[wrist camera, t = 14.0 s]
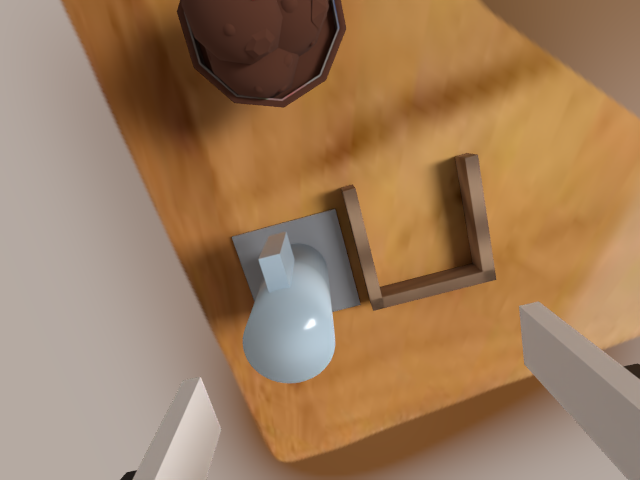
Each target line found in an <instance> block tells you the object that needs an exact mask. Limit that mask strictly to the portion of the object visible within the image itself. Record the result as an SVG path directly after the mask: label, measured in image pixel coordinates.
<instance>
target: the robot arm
mask: <svg viewBox="0 0 640 480" xmlns="http://www.w3.org/2000/svg"><path fill="white" fill-rule="evenodd" d="M519 310H520V321H521V332H522V343H523V354H524V364H525V365H526V367H527V368H528V369H529V370H530V371H531V372H532V373H533V374H534V375H535V377H536V378H537V379H538V380H539V381H540V382H541V383H542V384H543V385H544V387H545V388H546V389H547V390H548V391H549V392H550V393H551V394H552V395H553V397H554V398H555V399H556V400H557V401H558V402H559V403H560V404H561V406H562V407H563V408H564V409H565V410H566V411H567V412H568V413H569V414H570V416H571V417H572V418H573V419H574V420H575V421H576V422H577V423H578V424H579V426H580V427H581V428H582V429H583V430H584V431H585V432H586V433H587V434H588V435H589V437H590V438H591V439H592V440H593V441H594V442H595V443H596V444H597V446H598V447H599V448H600V449H601V450H602V451H603V452H604V453H605V455H607V457H608V458H609V459H610V460H611V461H612V462H613V463H614V464H615V466H616V467H617V468H618V469H619V470H620V471H621V472H622V473H623V475H624V476H625V477H626V478H627V479H628V480H640V365H639V364H633V365H628V366H624V367H623V366H622V365H620V364H619V363H618V362H616V361H615V360H613V358H611V357H610V356H609V355H607V354H606V353H605V352H603V351H602V350H601V349H600V348H598V347H597V346H596V345H594V344H593V343H592V342H590V341H589V340H588V339H587V338H585V337H584V336H583V335H581V334H580V333H579V332H577V331H576V330H575V329H573V328H572V327H571V326H570V325H568V324H567V323H566V322H564V321H563V320H562V319H560V318H559V317H558V316H557V315H555V314H554V313H553V312H551V311H550V310H549V309H547V308H546V307H545V306H544V305H542V304H541V303H540V302H535V303H531V304H526V305H522V306H519ZM220 432H221V427H220V424H219V422H218V420H217V417H216V415H215V412H214V409H213V407H212V404H211V402H210V399H209V397H208V394H207V392H206V389H205V387H204V384H203V382H202V379H201V377H197V378H192V379H188V380H183V381H182V383H181V385H180V387H179V389H178V391H177V393H176V395H175V397H174V399H173V401H172V403H171V405H170V407H169V409H168V411H167V413H166V415H165V417H164V419H163V420H162V422H161V424H160V426H159V428H158V430H157V432H156V434H155V436H154V438H153V440H152V442H151V444H150V446H149V448H148V450H147V452H146V454H145V456H144V458H143V460H142V462H141V464H140V466H139V468H138V470H136V471H131V472H127V473H126V474H125V475H124V476H123V477H122V478H121V480H206V479H207V475H208V472H209V468H210V465H211V462H212V459H213V455H214V452H215V449H216V445H217V442H218V439H219V435H220Z"/></svg>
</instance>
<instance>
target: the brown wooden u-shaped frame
mask: <svg viewBox="0 0 640 480" xmlns="http://www.w3.org/2000/svg"><path fill="white" fill-rule="evenodd" d="M455 160H456V166H457V172H458V178H459V184H460V190H461V196H462V203H463V209H464V215H465V221H466V227H467V233H468V239H469V245H470V251H471V257H472V264H468V265H465V266H461V267H457V268H453V269H449V270H445V271H441V272H437V273H433V274H429V275H426V276H422V277H418V278H414V279H410V280H406V281H402V282H398V283H394V284H391V285H387V286H383V287H379V283H378V279H377V275H376V271H375V266H374V262H373V258H372V254H371V250H370V246H369V242H368V238H367V234H366V230H365V226H364V222H363V218H362V213H361V209H360V205H359V201H358V197H357V193H356V189H355V187H354V186H353V185H349V186H346V187H342V188H341V190H342V194H343V198H344V202H345V206H346V209H347V213H348V217H349V221H350V225H351V229H352V233H353V237H354V241H355V245H356V248H357V252H358V256H359V260H360V264H361V268H362V272H363V276H364V280H365V284H366V287H367V291H368V295H369V299H370V302H371V305H372V308H373V311H374V310H378V309H382V308H386V307H390V306H394V305H398V304H402V303H406V302H410V301H414V300H418V299H422V298H425V297H429V296H433V295H437V294H441V293H445V292H449V291H453V290H457V289H461V288H465V287H469V286H473V285H477V284H481V283H485V282H489V281H493V280H496V275H495V268H494V261H493V254H492V247H491V241H490V234H489V227H488V220H487V213H486V207H485V200H484V193H483V186H482V180H481V173H480V166H479V159H478V155H476V154H469V153H466V154H462V155H459V156H455Z"/></svg>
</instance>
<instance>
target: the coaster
mask: <svg viewBox="0 0 640 480" xmlns="http://www.w3.org/2000/svg"><path fill="white" fill-rule="evenodd" d="M283 232H287V236H288V239H289V242H290V244H296V243H299V244H306V245H309V246H311V247H313V248H315V249H316V250H317V251H319V252H320V253H321V255H322V256H323V257H324V259H325V261H326V264H327V268H328V277H329V286H330V296H331V306H332V312H334V311H338V310H342V309H346V308H349V307H353V306H357V305H361V304H360V301H359V297H358V293H357V289H356V286H355V282H354V278H353V274H352V270H351V267H350V263H349V259H348V255H347V252H346V248H345V244H344V240H343V236H342V233H341V229H340V225H339V221H338V218H337V214H336V210H335V209H332V210H328V211H324V212H321V213H317V214H313V215H310V216H306V217H302V218H299V219H295V220H291V221H287V222H284V223H280V224H276V225H273V226H269V227H265V228H262V229H258V230H254V231H251V232H247V233H243V234H239V235H236V236H232V239H233V242H234V245H235V248H236V251H237V254H238V256H239V259H240V262H241V265H242V268H243V271H244V273H245V276H246V279H247V282H248V285H249V287H250V290H251V293H252V296H253V299H254V302H255V300H256V297H257V294H258V292H259V289H260V286H261V283H262V281H263V278H264V275H263V272H262V269H261V266H260V263H259V260H258V259H259V256H260V254H261V252H262V250H263V248H264V246H265V243H266V241H267V239H268V237H269V236H271V235H275V234H279V233H283Z"/></svg>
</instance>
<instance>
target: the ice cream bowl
mask: <svg viewBox="0 0 640 480" xmlns="http://www.w3.org/2000/svg"><path fill="white" fill-rule="evenodd" d="M177 13H178V17H179V20H180V23H181V26H182V30H183V33H184V36H185V40H186V43H187V46H188V50H189V53H190V56H191V60H192V63H193V66H194V68H195V69H196V70H197V71H198V72H200V73H201V74H202V75H203V76H204V77H205V78H206V79H208V80H209V81H210V82H211V83H212V84H213V85H214V86H216V87H217V88H218V89H219V90H220V91H221V92H223V93H224V94H225V95H226V96H227V97H228V98H229V99H231V100H232V101H233V102H234V103H241V104H252V105H263V106H274V107H285V106H287V105H288V104H290V103H291V102H293V101H294V100H296V99H298V98H299V97H301V96H302V95H304V94H305V93H307V92H308V91H310V90H311V89H313V88H314V87H316V86H318V85H319V84H321V83H322V82H324V81H325V80H326V79H327V76H328V74H329V71H330V68H331V66H332V63H333V61H334V58H335V56H336V53H337V51H338V48H339V46H340V43H341V41H342V38H343V35H344V33H345V30H346V25H345V20H344V15H343V10H342V4H341V0H180V3H179V7H178V10H177Z"/></svg>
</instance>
